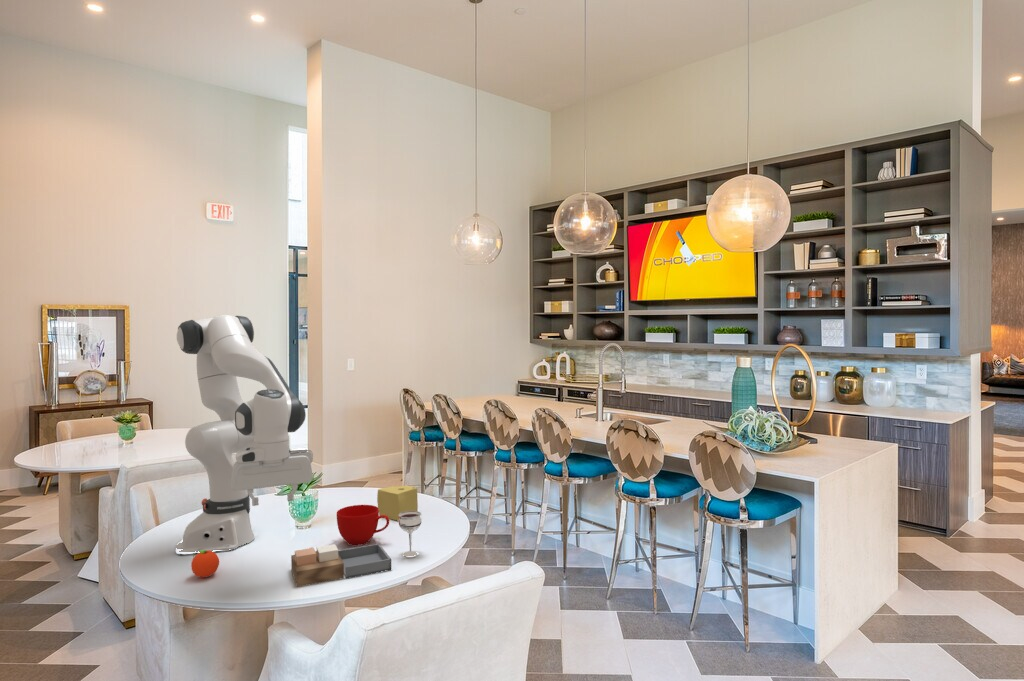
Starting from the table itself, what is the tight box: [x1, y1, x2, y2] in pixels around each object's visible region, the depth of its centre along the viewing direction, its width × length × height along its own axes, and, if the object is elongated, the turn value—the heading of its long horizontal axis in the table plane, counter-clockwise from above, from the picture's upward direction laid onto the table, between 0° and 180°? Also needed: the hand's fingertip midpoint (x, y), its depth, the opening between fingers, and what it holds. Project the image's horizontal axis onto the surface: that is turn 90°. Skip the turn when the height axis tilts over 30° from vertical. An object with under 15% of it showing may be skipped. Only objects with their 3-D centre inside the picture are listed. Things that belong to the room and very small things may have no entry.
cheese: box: [376, 484, 419, 522], centre depth 220 cm, size 10×11×10 cm
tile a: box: [316, 543, 339, 562], centre depth 170 cm, size 5×5×2 cm
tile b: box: [294, 547, 316, 566], centre depth 167 cm, size 5×5×2 cm
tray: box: [338, 543, 392, 579], centre depth 174 cm, size 12×14×3 cm
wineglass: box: [397, 510, 422, 556], centre depth 182 cm, size 7×7×12 cm
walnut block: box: [290, 550, 345, 588], centre depth 168 cm, size 12×13×4 cm
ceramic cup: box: [336, 504, 390, 547], centre depth 193 cm, size 13×17×10 cm
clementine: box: [190, 550, 220, 578], centre depth 168 cm, size 8×7×7 cm
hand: (273, 502), depth 163 cm, fingers open, 7 cm apart
